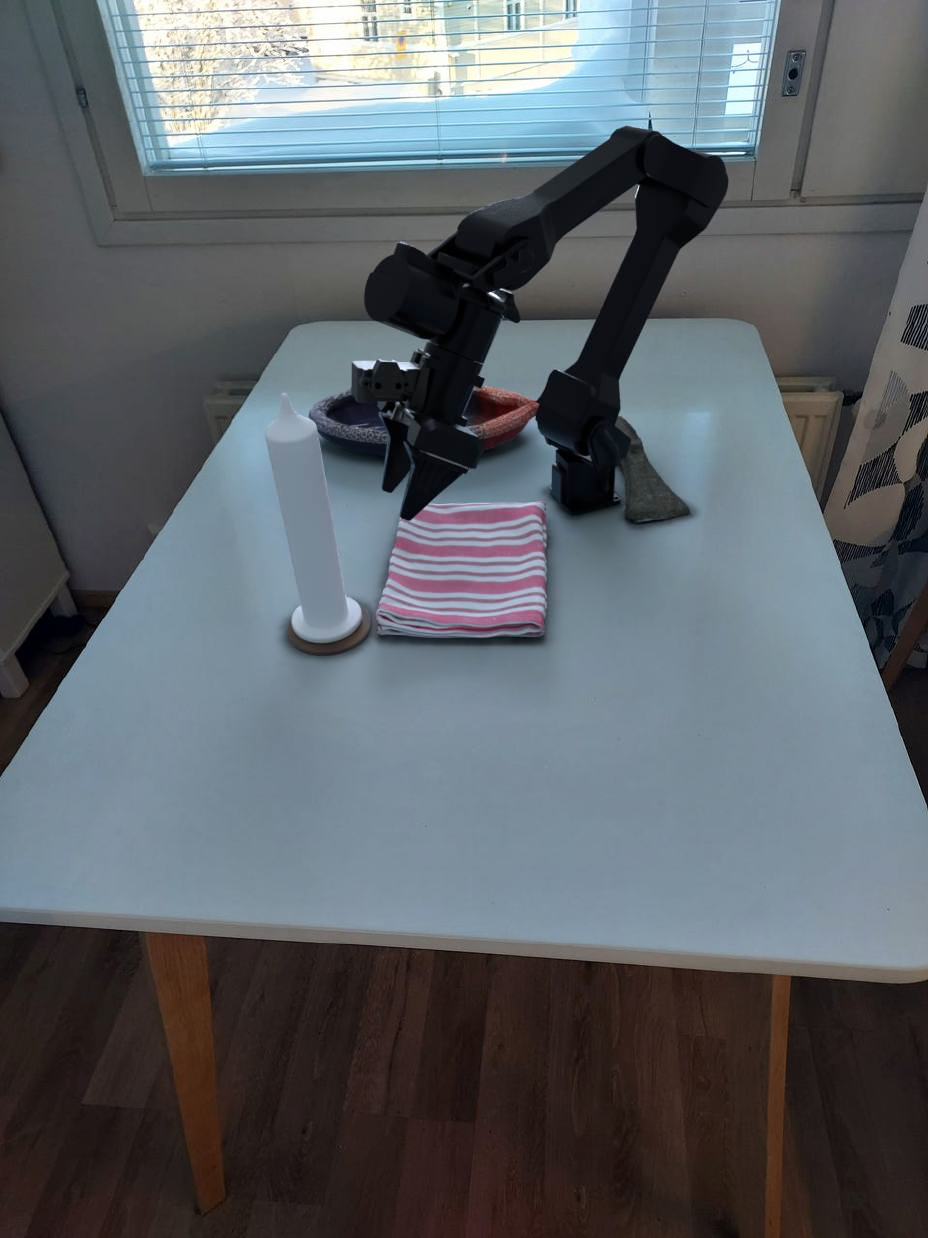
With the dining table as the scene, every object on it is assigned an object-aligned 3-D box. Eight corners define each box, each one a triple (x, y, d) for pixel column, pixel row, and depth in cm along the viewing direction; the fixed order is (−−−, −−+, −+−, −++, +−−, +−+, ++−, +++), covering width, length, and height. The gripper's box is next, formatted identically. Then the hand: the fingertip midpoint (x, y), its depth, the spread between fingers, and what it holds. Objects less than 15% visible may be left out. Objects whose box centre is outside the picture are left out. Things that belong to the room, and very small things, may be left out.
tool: (690, 525, 107) (696, 503, 104) (627, 531, 105) (631, 509, 103) (632, 424, 121) (637, 404, 119) (576, 428, 120) (579, 408, 117)
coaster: (358, 593, 98) (357, 590, 98) (382, 640, 92) (381, 637, 92) (280, 614, 96) (279, 611, 96) (299, 664, 90) (298, 661, 89)
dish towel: (373, 643, 91) (369, 616, 89) (403, 512, 109) (400, 487, 107) (546, 645, 90) (547, 618, 88) (548, 512, 108) (548, 486, 105)
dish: (326, 409, 131) (321, 376, 127) (545, 410, 127) (545, 376, 124) (299, 466, 119) (293, 431, 116) (540, 469, 115) (540, 433, 112)
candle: (310, 594, 97) (265, 371, 81) (372, 604, 96) (339, 378, 80) (280, 637, 92) (225, 408, 76) (345, 649, 90) (303, 416, 74)
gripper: (359, 308, 92) (306, 454, 96) (396, 333, 76) (330, 507, 80) (459, 350, 96) (403, 488, 101) (514, 382, 80) (446, 545, 84)
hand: (394, 504), depth 91 cm, fingers open, 9 cm apart
